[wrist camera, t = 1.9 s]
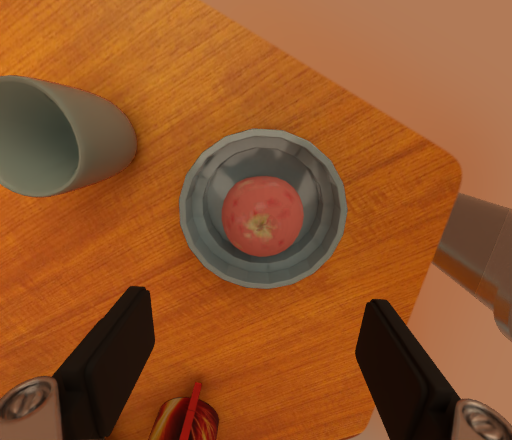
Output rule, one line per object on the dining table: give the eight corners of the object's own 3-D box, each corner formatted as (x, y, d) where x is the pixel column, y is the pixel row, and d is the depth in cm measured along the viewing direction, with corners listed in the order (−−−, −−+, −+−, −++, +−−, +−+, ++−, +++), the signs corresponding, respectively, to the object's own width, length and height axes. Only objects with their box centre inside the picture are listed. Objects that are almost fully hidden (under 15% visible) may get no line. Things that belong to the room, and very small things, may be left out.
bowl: (343, 133, 25) (361, 134, 20) (321, 267, 30) (332, 293, 25) (191, 125, 25) (174, 124, 21) (195, 259, 30) (183, 283, 26)
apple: (225, 231, 28) (212, 267, 21) (231, 165, 26) (217, 179, 18) (291, 239, 28) (300, 278, 21) (302, 174, 26) (317, 191, 18)
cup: (96, 184, 28) (9, 211, 18) (58, 110, 25) (-66, 98, 16) (160, 162, 27) (103, 180, 17) (127, 84, 24) (38, 53, 15)
